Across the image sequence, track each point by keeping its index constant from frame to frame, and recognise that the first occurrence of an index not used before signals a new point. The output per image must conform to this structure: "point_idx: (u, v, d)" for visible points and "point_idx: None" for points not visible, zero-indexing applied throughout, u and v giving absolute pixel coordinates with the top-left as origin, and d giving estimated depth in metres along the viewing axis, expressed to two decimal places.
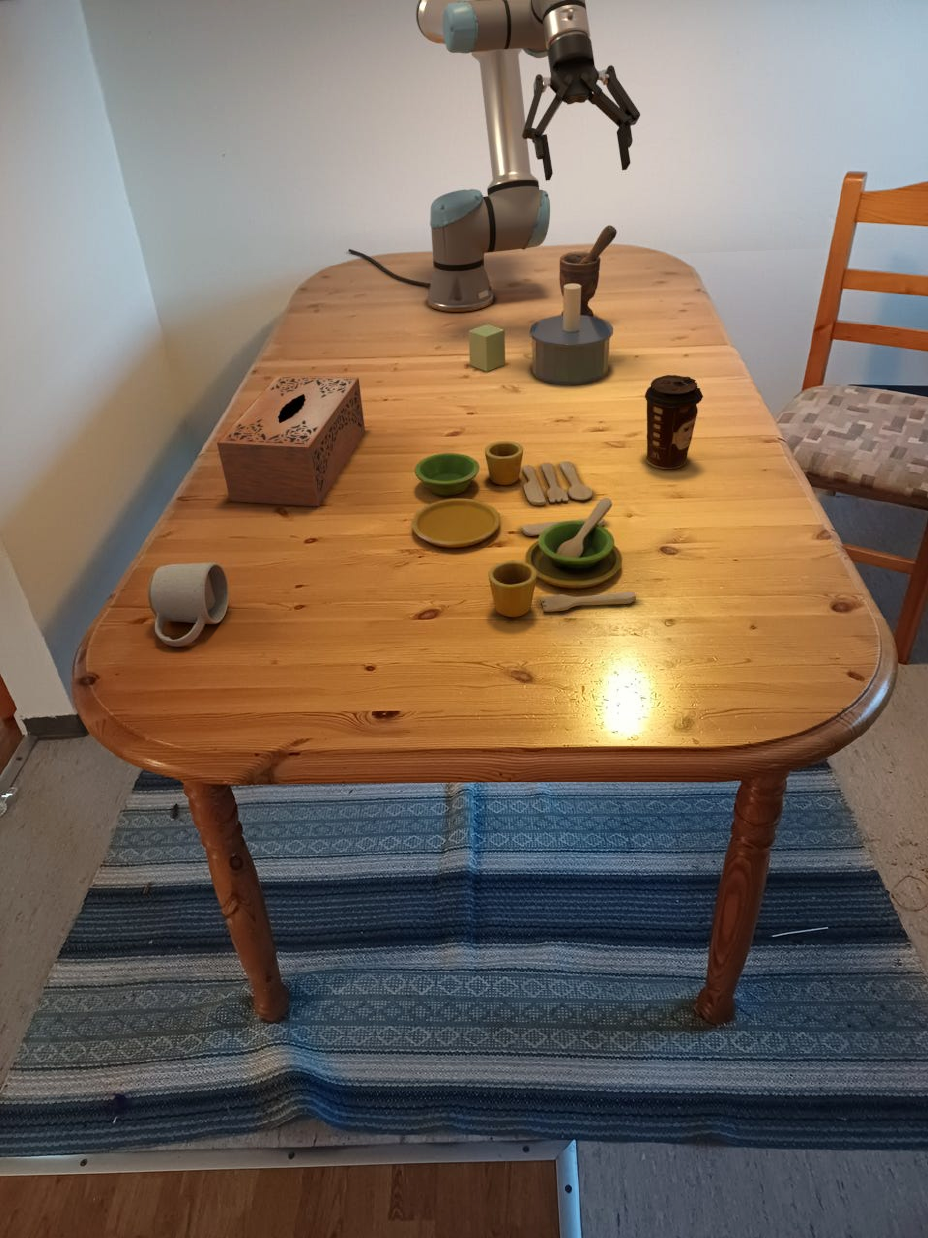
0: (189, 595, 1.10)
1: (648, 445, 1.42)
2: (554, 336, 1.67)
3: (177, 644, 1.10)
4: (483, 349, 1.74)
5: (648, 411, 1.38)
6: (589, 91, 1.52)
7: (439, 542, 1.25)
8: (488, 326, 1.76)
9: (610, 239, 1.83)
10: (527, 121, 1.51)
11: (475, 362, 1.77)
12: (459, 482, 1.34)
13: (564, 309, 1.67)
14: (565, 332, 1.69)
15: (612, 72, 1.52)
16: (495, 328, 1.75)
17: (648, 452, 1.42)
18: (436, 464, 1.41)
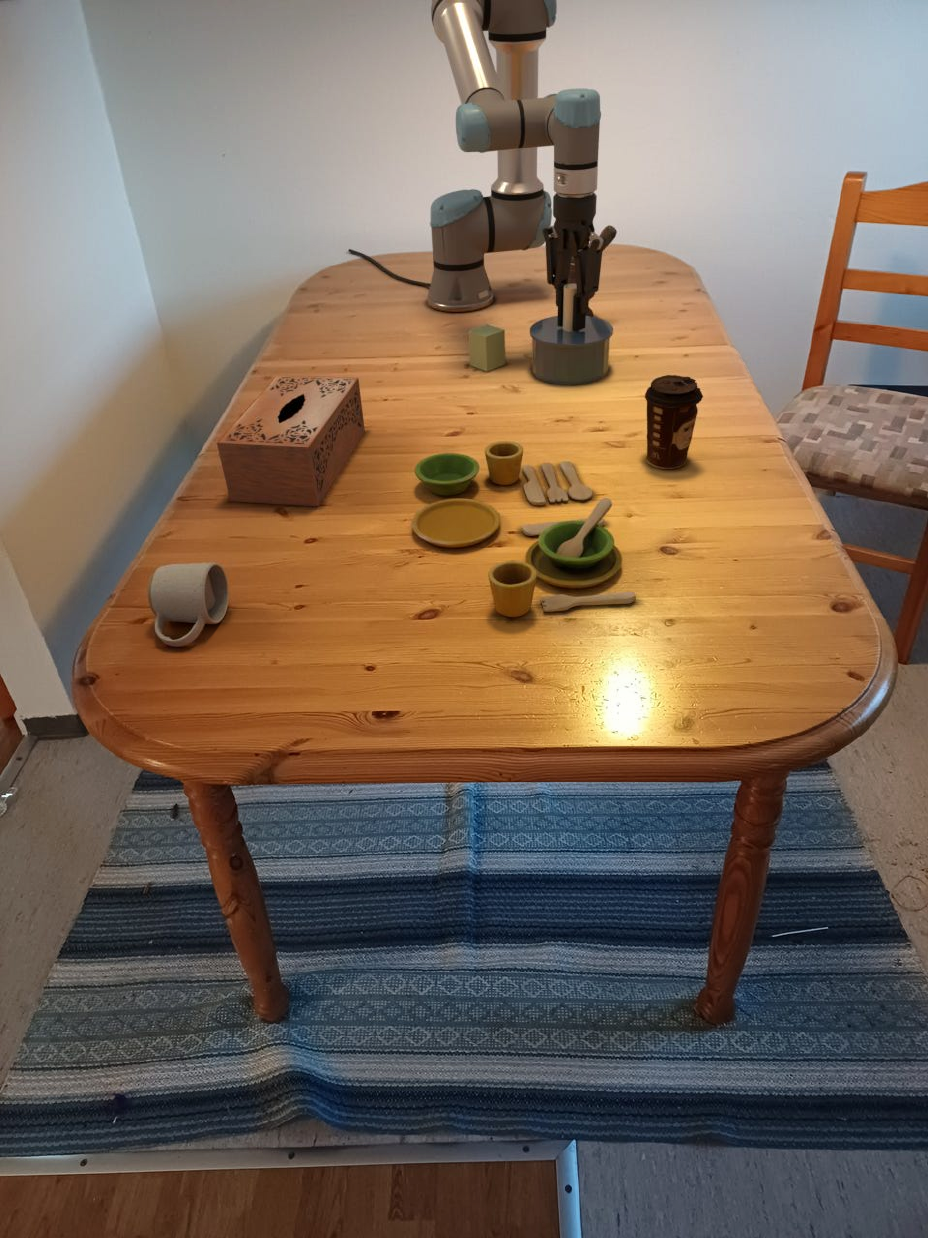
0: (189, 595, 1.10)
1: (648, 445, 1.42)
2: (554, 336, 1.67)
3: (177, 644, 1.10)
4: (483, 349, 1.74)
5: (648, 411, 1.38)
6: (577, 247, 1.59)
7: (439, 542, 1.25)
8: (488, 326, 1.76)
9: (610, 239, 1.83)
10: (547, 274, 1.67)
11: (475, 362, 1.77)
12: (459, 482, 1.34)
13: (564, 309, 1.67)
14: (565, 332, 1.69)
15: (593, 246, 1.56)
16: (495, 328, 1.75)
17: (648, 452, 1.42)
18: (436, 464, 1.41)
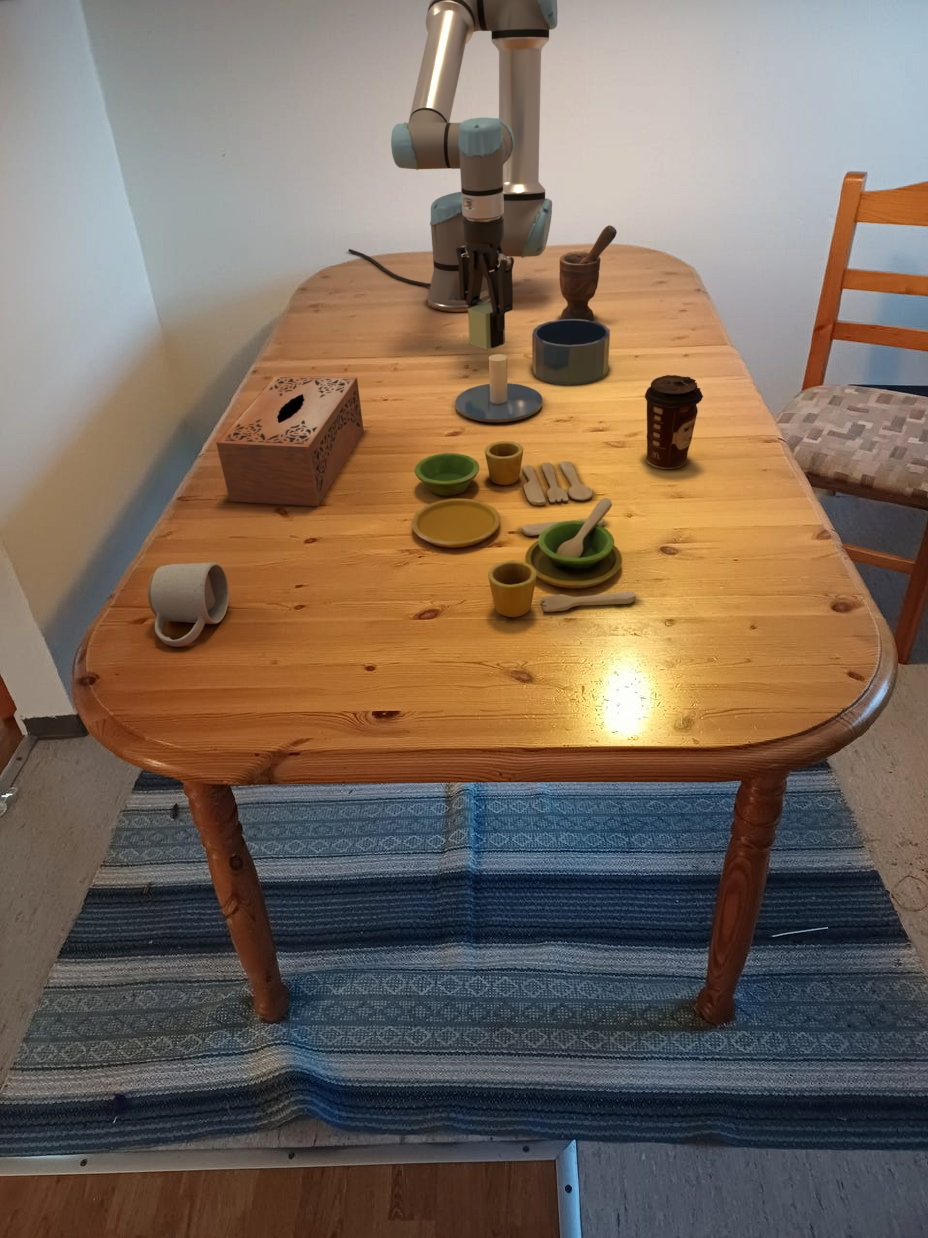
0: (189, 595, 1.10)
1: (648, 445, 1.42)
2: (479, 409, 1.59)
3: (177, 644, 1.10)
4: (483, 327, 1.72)
5: (648, 411, 1.38)
6: None
7: (439, 542, 1.25)
8: (488, 304, 1.74)
9: (610, 239, 1.83)
10: (460, 291, 1.74)
11: (475, 341, 1.75)
12: (459, 482, 1.34)
13: (490, 381, 1.59)
14: (492, 404, 1.61)
15: (501, 267, 1.62)
16: None
17: (648, 452, 1.42)
18: (436, 464, 1.41)
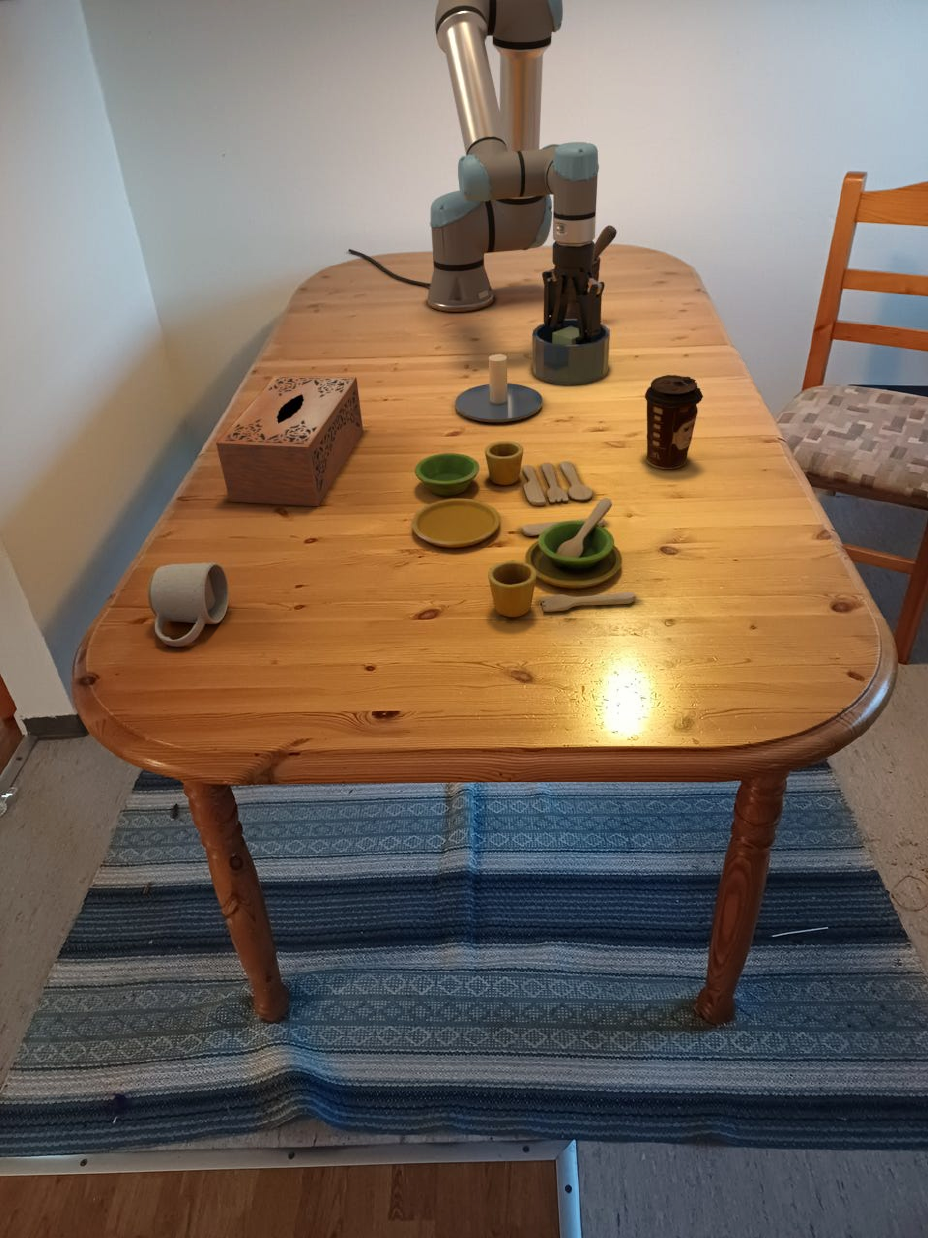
0: (189, 595, 1.10)
1: (648, 445, 1.42)
2: (479, 409, 1.59)
3: (177, 644, 1.10)
4: None
5: (648, 411, 1.38)
6: None
7: (439, 542, 1.25)
8: (572, 328, 1.72)
9: (610, 239, 1.83)
10: (544, 315, 1.72)
11: None
12: (459, 482, 1.34)
13: (490, 381, 1.59)
14: (492, 404, 1.61)
15: (592, 291, 1.61)
16: None
17: (648, 452, 1.42)
18: (436, 464, 1.41)
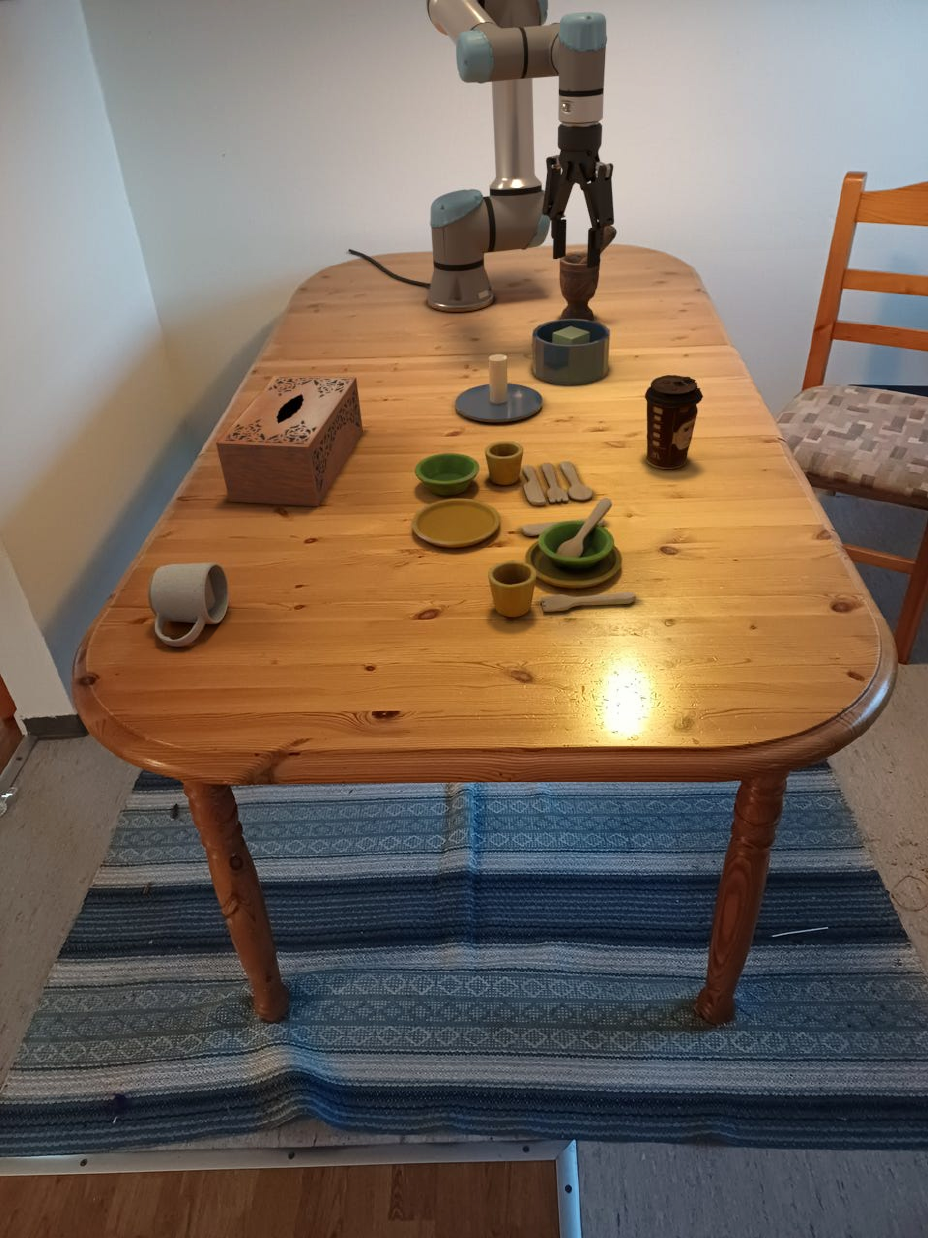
0: (189, 595, 1.10)
1: (648, 445, 1.42)
2: (479, 409, 1.59)
3: (177, 644, 1.10)
4: None
5: (648, 411, 1.38)
6: None
7: (439, 542, 1.25)
8: (572, 328, 1.72)
9: (610, 239, 1.83)
10: (544, 205, 1.64)
11: None
12: (459, 482, 1.34)
13: (490, 381, 1.59)
14: (492, 404, 1.61)
15: (600, 173, 1.52)
16: (580, 330, 1.71)
17: (648, 452, 1.42)
18: (436, 464, 1.41)
